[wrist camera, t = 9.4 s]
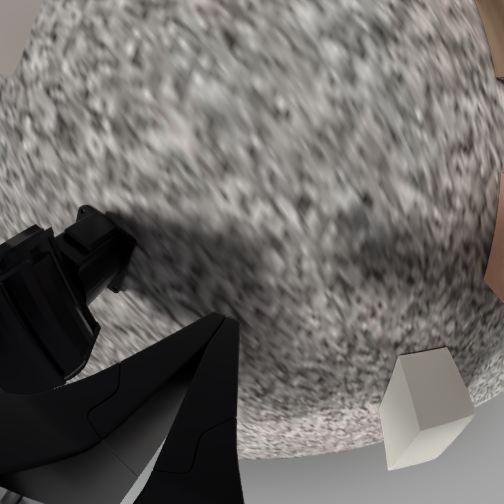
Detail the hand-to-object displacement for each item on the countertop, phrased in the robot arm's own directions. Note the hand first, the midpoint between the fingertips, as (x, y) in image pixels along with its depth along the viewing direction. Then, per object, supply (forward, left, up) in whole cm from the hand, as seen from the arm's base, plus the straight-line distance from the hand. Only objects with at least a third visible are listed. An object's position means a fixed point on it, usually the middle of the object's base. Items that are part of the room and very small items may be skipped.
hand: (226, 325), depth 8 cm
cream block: (-7, -24, -12) cm, 28 cm away
